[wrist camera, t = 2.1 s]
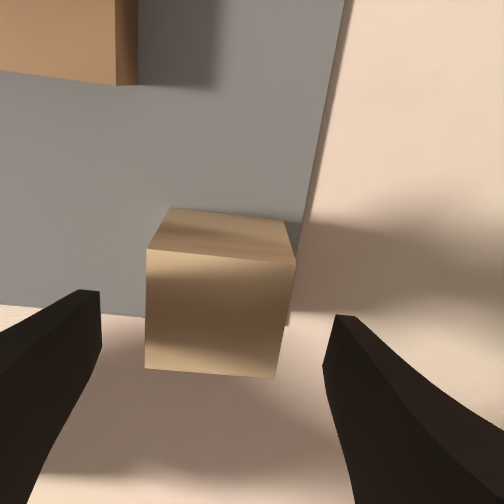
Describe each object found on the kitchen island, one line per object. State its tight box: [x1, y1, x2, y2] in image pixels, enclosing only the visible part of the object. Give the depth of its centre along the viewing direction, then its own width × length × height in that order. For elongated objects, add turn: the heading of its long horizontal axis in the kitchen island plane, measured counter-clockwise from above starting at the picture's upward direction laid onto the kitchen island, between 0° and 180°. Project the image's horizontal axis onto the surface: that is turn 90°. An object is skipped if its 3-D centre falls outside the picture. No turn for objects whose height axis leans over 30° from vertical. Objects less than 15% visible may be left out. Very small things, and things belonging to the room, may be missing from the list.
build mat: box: [0, 0, 345, 318], centre depth 13 cm, size 18×14×1 cm
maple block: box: [145, 208, 297, 379], centre depth 14 cm, size 4×4×4 cm
